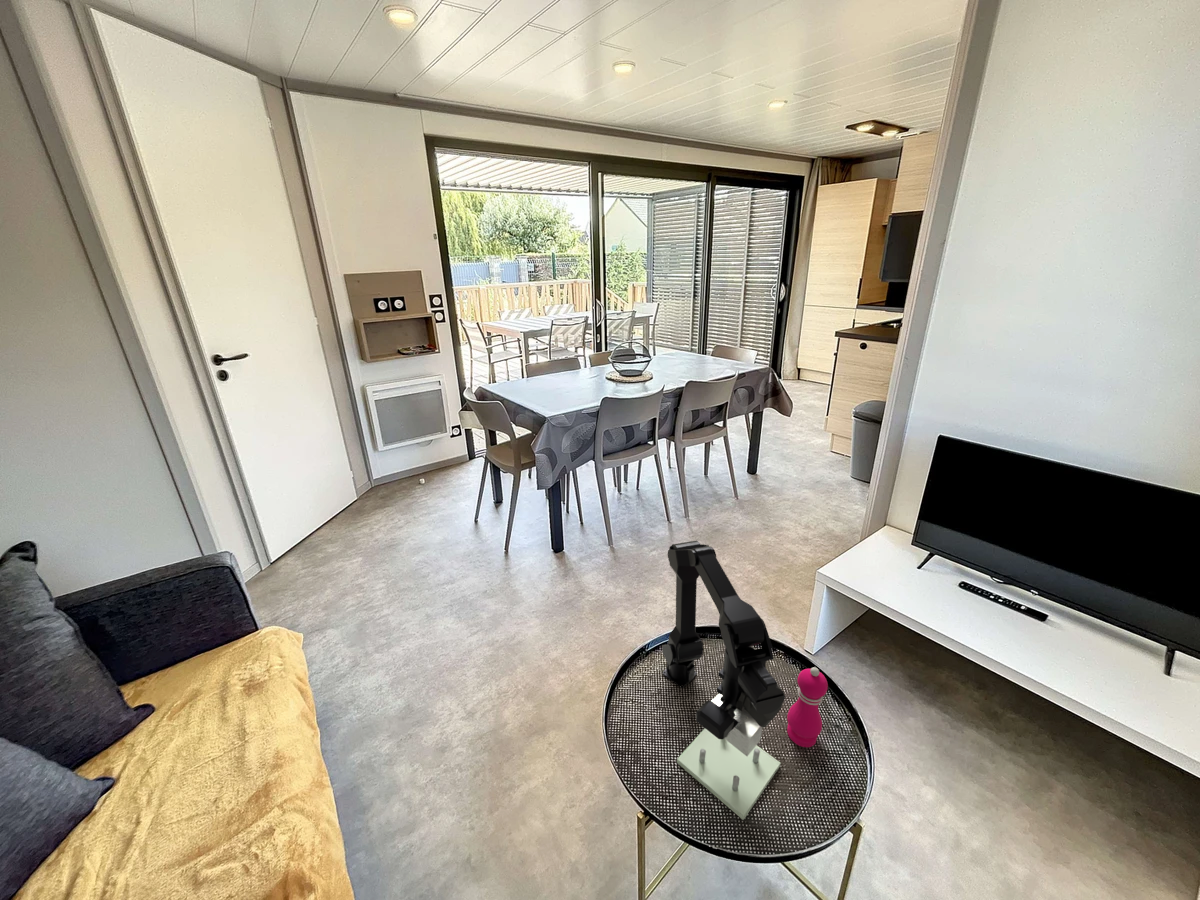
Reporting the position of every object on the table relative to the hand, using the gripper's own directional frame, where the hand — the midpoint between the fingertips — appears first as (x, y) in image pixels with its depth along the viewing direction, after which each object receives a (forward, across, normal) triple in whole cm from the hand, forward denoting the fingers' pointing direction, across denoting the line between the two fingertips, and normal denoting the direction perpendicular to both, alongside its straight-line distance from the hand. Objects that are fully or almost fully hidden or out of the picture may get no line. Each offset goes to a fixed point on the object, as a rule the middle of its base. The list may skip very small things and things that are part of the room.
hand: (731, 727), depth 99 cm
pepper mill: (+11, +18, -8) cm, 23 cm away
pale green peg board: (+11, 0, 0) cm, 11 cm away
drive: (+1, 0, 0) cm, 1 cm away
